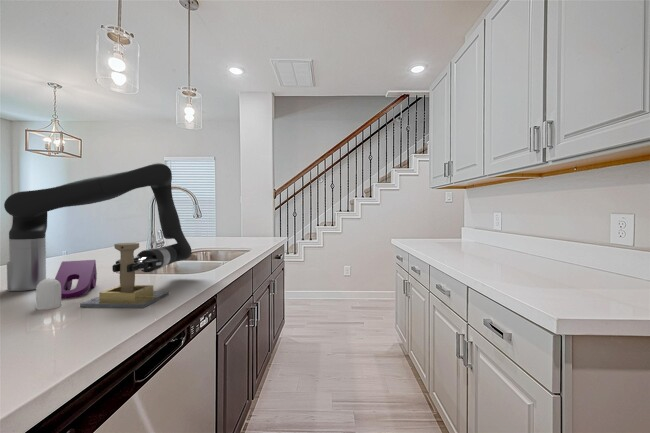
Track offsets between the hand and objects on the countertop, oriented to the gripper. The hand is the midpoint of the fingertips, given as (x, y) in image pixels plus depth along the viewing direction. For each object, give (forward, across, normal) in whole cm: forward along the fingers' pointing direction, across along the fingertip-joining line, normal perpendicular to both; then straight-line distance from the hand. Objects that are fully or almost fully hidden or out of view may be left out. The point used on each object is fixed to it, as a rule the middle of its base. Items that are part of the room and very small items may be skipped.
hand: (121, 268), depth 93 cm
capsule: (+4, -18, +10) cm, 21 cm away
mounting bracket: (-12, -24, +11) cm, 28 cm away
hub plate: (-3, 0, +10) cm, 10 cm away
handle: (-3, 0, +8) cm, 9 cm away
